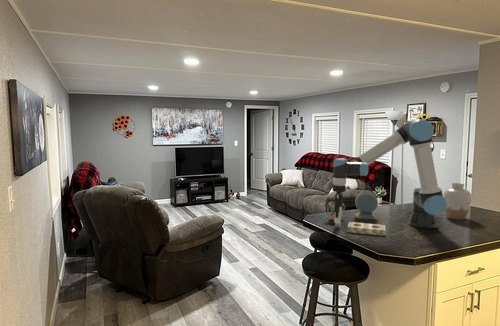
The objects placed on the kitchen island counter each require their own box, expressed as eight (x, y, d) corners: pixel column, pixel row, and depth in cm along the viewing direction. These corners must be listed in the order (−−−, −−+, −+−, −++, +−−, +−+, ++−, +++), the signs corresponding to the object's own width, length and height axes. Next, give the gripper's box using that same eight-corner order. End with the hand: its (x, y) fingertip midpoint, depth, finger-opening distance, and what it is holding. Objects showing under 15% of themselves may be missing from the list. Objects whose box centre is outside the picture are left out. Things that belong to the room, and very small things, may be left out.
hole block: (384, 230, 195) (384, 225, 194) (385, 235, 185) (385, 230, 184) (348, 226, 202) (349, 221, 201) (347, 231, 191) (347, 226, 191)
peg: (340, 226, 201) (341, 210, 200) (340, 228, 199) (340, 211, 198) (335, 226, 202) (336, 210, 201) (335, 227, 200) (335, 211, 199)
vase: (465, 222, 212) (467, 186, 209) (438, 217, 223) (440, 183, 221) (473, 218, 222) (475, 184, 220) (447, 213, 234) (449, 181, 232)
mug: (335, 222, 211) (335, 205, 210) (325, 218, 219) (326, 202, 218) (349, 220, 217) (350, 203, 215) (339, 216, 225) (340, 201, 224)
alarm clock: (375, 215, 229) (376, 189, 227) (378, 219, 219) (379, 192, 217) (353, 214, 231) (354, 189, 229) (355, 218, 222) (356, 191, 220)
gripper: (335, 181, 211) (333, 214, 213) (330, 187, 188) (328, 224, 190) (347, 182, 208) (346, 215, 210) (344, 188, 185) (342, 226, 187)
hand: (337, 220), depth 200 cm, fingers open, 13 cm apart
